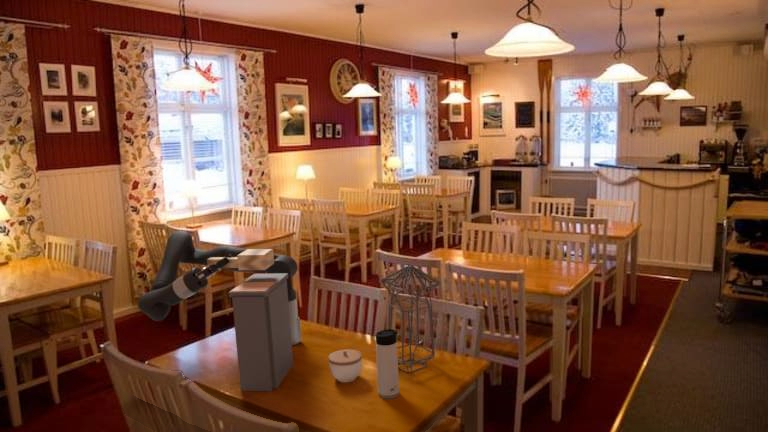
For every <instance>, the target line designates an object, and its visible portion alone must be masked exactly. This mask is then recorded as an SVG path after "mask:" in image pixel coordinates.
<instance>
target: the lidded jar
mask: <svg viewBox="0 0 768 432" xmlns="http://www.w3.org/2000/svg"><path fill="white" fill-rule="evenodd" d="M328 364H329V365H328V366H329V370H330V373H331V375H332V376H333V377H334V378H335V379H336V380H337V381H338V382H340V383H350V382H354V381H355V380H356V379H357V377H358V376H359V375H360V373H361V372H362V368H363V367H362V366H363V365H362V364H363V355H362V352H361V351H359V350H356V349H340V350H336V351H334V352H331V353H330V354H329V355H328Z"/></svg>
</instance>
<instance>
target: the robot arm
mask: <svg viewBox="0 0 768 432" xmlns="http://www.w3.org/2000/svg"><path fill="white" fill-rule="evenodd" d="M247 249H248V248H243V247H238V246H233V245H227V244H226V245H220V246H217V247H214V248H212V249H209V250H207V249H199V248H197V247H195V246H194V241H193V237H192V236H191V234H190V233H189V232H187V231H186V230H177V231H175V232H173V233H171V234H170V235H169V237H168V238H167V241H166V247H165V250H164V254H163V258H162V260H161V264H160V266H159V270H158V271H157V274H156V277H155V278H154V281H153V282H152V284H151V286H150V291H148V292H145V293H144V294H143V295H141V296H140V298H139V299H138V302H137V308H138V309H139V310H140V311H141V312H143V313H144V314H145V315H146V316H147V317H148V318H149V319H151V320H153V321H155V322H160V321H162V320H164V319H166V317H167V316H168V315H169V313H170V310H171V306H175V305H177V304H180V303H181V302H182V301H185V299H187V298H189V297H192V296H193V295H195V294H197V293H198V292H200V291H201V290H203V289H204V288H206V287H208V284H209V279H210V278H212V277H213V276H215V274H217V273H218V272H220V271H221V270H226V271H231V272H238V273H243V272H244V273H246V272H261V273H262V272H263V273H265V274H272V273H288V278H287V291H288V304H289V317H290V330H291V343H292V346H296V345H297V344H299V343H302V342H303V339H302V328H301V317H299V316H298V315H299V313H298V303H297V292H296V290H295V289H293V286H292V285H293V283H292V278H293V277H294V276H296V274H297V272H298V264H297V261H296V260H295V259H294V258H293V257H291V256H289V255H283V254H275V253H273V255H274V264H273V265H271V266H270V267H269V268H267V269H266V270H239V269H238V268H221V267H223V266H224V265H226V264H228V263H229V260H228V258H227V257H237V255H239V254H240V253H242V252H244V251H245V250H247ZM211 257H225V258H223V259H221V260H220V261H218V262H216V263H214V264H213V265H209V266H207V259H209V258H211ZM180 263H181V264H188V265H189V264H190V265H198V266H199V265H200V266H205V267H203V268H199V267H193V268H191V269H190V270H188V271H187V272H186V273H184V274H182V275H181V276H179V277H178V273H179V266H180Z"/></svg>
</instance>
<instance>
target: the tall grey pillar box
mask: <svg viewBox="0 0 768 432" xmlns="http://www.w3.org/2000/svg"><path fill="white" fill-rule="evenodd" d="M287 278H288V273H272V274H267V273H253V274H252V275H250V276H249V277H248V278H246V279H245V280H244V281H242V282H241V283H239V284H238V285H236V286H235V287H233V288H232V289H231V290H230V291H229V292H228V297H229V298H231V299H232V309H233V312H232V313H233V321H234V330H235V331H234V332H235V343H236V352H237V353H236V354H237V364H238V376H239V386H240V391H243V392H244V391H245V392H246V391H247V392H272V391H273V390H274V389H277V388H278V387H279V386H280V384H281V383H282V382H283V380H284V378H285V377H286V375H287V374H288V373H289V371H290V370H291V368H292V367H293V366H294V359H293V347H292V343H291V330H290V317H289V304H288V291H287Z"/></svg>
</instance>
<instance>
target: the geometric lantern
mask: <svg viewBox="0 0 768 432" xmlns="http://www.w3.org/2000/svg"><path fill="white" fill-rule="evenodd" d="M398 273H399V274H398ZM397 274H398V275H397ZM395 275H397V276H396V277H395V278H392V276H395ZM411 277H412V280H413V281H412V282H413V284H414V288H410V287H409V286H410V280H411ZM415 277H416V278H415ZM415 279H417V280H418V282H419V283H420V285H421V286H422V287H421V288H418V286H417V283H416V282H417V281H416V280H415ZM423 280H424V281H423ZM390 281H391V282H390ZM400 281H401V285H398V283H399V282H400ZM380 282H381V284H383V286H384V288H385V289H386V290H387V293H388V296H391V297H390V302H389V303H388V323H387V329H392V323H393V308H394V309H396V310H399V311H400V312H402V323H401V324H402V331H401V332H402V334H401V346H397V350H398V349H400V348H401V356H399V357H398V365H402V366H404V367H405V368H406V370H405V369H403V368H401V367H399V366H398V370H401V371H403V372H405V373H406V374H409V373H413V372H417V371H419V370H422V369H424V368H426V367H427V362H428V361H430V360H431V359H434V358H435V337H434V319H433V318H434V315H433V304H432V297H431V292H432V291H433V290H434V289H436V288H437V287H438V286H439V285H440V284H441V281H440V280H437V279H436V278H434V277H432V275H429V274H428V273H426V272H424V271H423V270H421V269H419V268H418V267H416V266H414V265H413V264H407V265H406V266H404V267H402V268H400V269H398V270H396V271H394V272H392V273H390V274H389V275H386V276H385V277H383V278H381V279H379V281H378V283H380ZM427 282H428V283H429V286H427V285H426V284H427ZM407 283H408V284H407ZM432 283H434V284H432ZM406 284H407V286H406ZM390 287H391V290H390ZM405 289H406V290H405ZM396 290H397V291H398V292H397V293H395V291H396ZM426 290H427V292H426ZM412 291H415V292H416V293H415V292H412ZM422 291H423V294H422V295H420V294H421V293H422ZM403 292H405V293H409V294H410V296H411V297H406V298H402V299H398V298H397V296H398V295H399V294H401V293H403ZM428 294H429V301H428V298H427V295H428ZM421 298H424V299H425V300H423V299H421ZM393 299H395V300H393ZM409 299H411V300H410V302H411V304H410V306H409V308H408V309H407V310H405V309H403V307H402V305H401V303H400V302H401V301H406V300H409ZM418 301H420V302H422V303H425V304H426V305H427V306H425V307H420V308H419V302H418ZM429 302H430V303H429ZM394 303H397V304H398V307H399V308H398V307H396V306H395V305H394ZM415 303H416V309H413V308H414V304H415ZM425 309H428V317H429V329H430V332H429V333H430V342H431V343H430V344H431V350H430V349H429V348H427V347H425V346H423V345H421V344H420V331H419V329H420V328H419V326H420V325H419V323H420V321H419V311H420V310H425ZM414 312H416V329H417V330H416V333H417V334H416V335H417V343H413V342H412V341H413V340H412V338H413V313H414ZM405 313H407V326H408V343H405ZM412 346H415V348H414V349H413V353H412ZM405 347H408V348H409V353H406V354H404V353H405V352H404V350H405V349H404V348H405ZM418 347H420V348H422V349H424V350H425V351H427V352H429V353H431V354H430V355H429V356H428V357H425V358H424V357H422V356H419V355H418V354H415V352H416V351H417V349H418ZM407 356H409V359H405V360H404V357H407ZM414 357H417V358H419V359H418V360H417V359H415V358H414ZM406 364H407V365H406ZM408 364H409V366H408ZM412 364H413V365H412ZM421 364H422V365H424V366H421V367H419V368H415V369H413V367H416V366H419V365H421ZM409 368H410V370H409Z"/></svg>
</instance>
